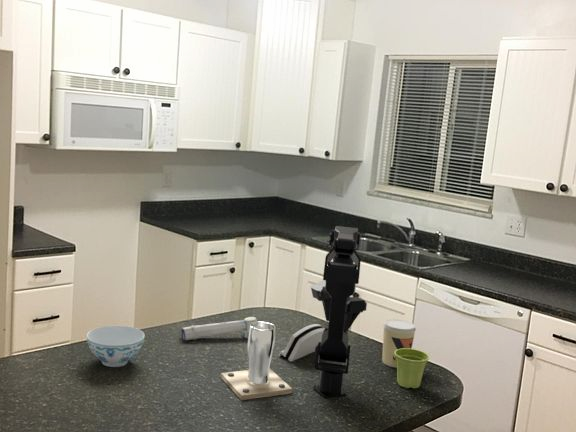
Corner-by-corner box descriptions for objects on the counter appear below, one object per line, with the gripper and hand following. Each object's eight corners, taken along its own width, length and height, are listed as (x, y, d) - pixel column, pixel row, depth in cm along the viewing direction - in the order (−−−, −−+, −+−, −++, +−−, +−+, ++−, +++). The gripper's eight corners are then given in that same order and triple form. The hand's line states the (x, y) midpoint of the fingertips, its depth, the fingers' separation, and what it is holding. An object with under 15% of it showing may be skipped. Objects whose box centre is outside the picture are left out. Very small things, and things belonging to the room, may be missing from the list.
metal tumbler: (240, 376, 167) (245, 322, 164) (265, 374, 169) (270, 320, 167) (249, 388, 160) (254, 331, 158) (275, 385, 163) (280, 329, 161)
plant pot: (384, 383, 174) (387, 352, 173) (402, 374, 181) (405, 345, 180) (414, 394, 168) (418, 363, 167) (431, 385, 175) (435, 355, 174)
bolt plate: (291, 393, 162) (292, 387, 162) (241, 400, 156) (241, 394, 156) (268, 371, 175) (268, 366, 174) (220, 377, 168) (221, 372, 168)
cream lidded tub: (390, 370, 184) (395, 330, 182) (373, 358, 192) (378, 319, 190) (417, 367, 187) (422, 328, 185) (399, 355, 196) (404, 318, 194)
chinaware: (132, 349, 182) (133, 323, 181) (151, 368, 170) (153, 340, 169) (78, 356, 174) (79, 328, 173) (95, 377, 162) (96, 348, 161)
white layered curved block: (309, 343, 200) (321, 317, 196) (320, 352, 197) (333, 326, 194) (277, 356, 186) (289, 328, 183) (289, 366, 184) (301, 338, 181)
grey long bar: (179, 325, 195) (256, 311, 204) (181, 345, 196) (257, 330, 205) (183, 330, 190) (262, 316, 199) (185, 351, 191) (263, 336, 200)
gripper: (300, 264, 179) (295, 317, 182) (334, 282, 163) (328, 340, 166) (334, 263, 185) (328, 314, 187) (370, 280, 168) (364, 336, 171)
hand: (336, 326), depth 178 cm, fingers open, 9 cm apart
